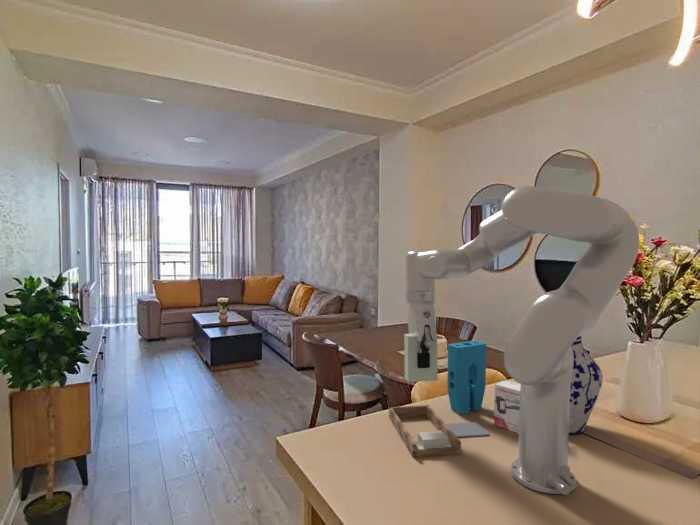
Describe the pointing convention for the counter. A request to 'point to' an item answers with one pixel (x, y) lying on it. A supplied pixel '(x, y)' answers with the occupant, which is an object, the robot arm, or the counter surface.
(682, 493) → the counter surface
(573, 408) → the vase
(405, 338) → the sage green box
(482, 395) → the block
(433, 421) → the tray
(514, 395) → the ink box
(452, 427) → the felt mat
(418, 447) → the offcut low
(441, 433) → the offcut top
